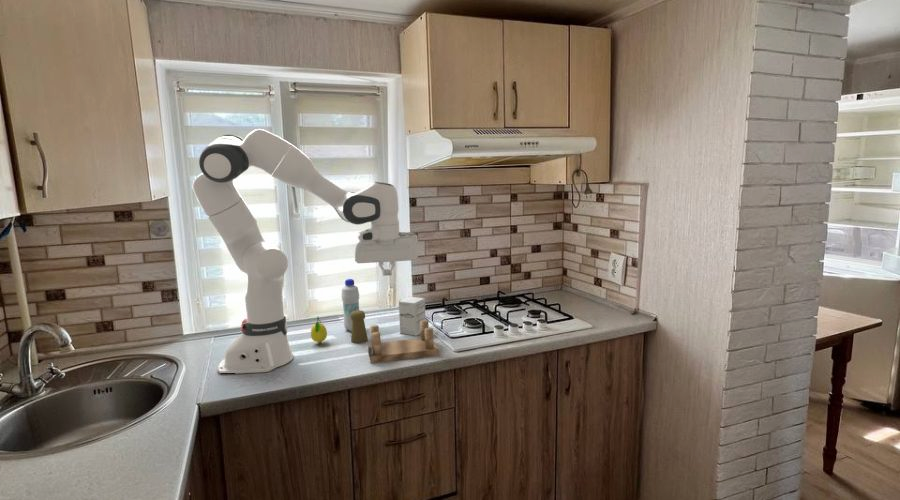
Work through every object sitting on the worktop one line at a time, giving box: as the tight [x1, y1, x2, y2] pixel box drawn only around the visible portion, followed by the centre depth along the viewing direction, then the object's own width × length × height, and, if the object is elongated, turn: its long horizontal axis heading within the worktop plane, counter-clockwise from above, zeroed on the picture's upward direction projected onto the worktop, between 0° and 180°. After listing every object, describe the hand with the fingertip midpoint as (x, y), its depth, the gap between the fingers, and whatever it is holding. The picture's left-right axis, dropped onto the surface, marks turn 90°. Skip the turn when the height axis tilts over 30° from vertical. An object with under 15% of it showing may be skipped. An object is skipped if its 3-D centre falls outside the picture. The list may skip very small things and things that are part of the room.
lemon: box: [310, 315, 328, 344], centre depth 168 cm, size 7×6×10 cm
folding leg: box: [370, 331, 382, 355], centre depth 153 cm, size 8×3×6 cm, turn 11°
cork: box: [350, 309, 369, 345], centre depth 169 cm, size 6×6×11 cm
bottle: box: [341, 278, 360, 333], centre depth 181 cm, size 7×7×20 cm
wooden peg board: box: [367, 319, 439, 364], centre depth 157 cm, size 22×12×8 cm, turn 103°
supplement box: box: [398, 296, 427, 337], centre depth 176 cm, size 7×7×13 cm
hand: (387, 275), depth 154 cm, fingers closed
